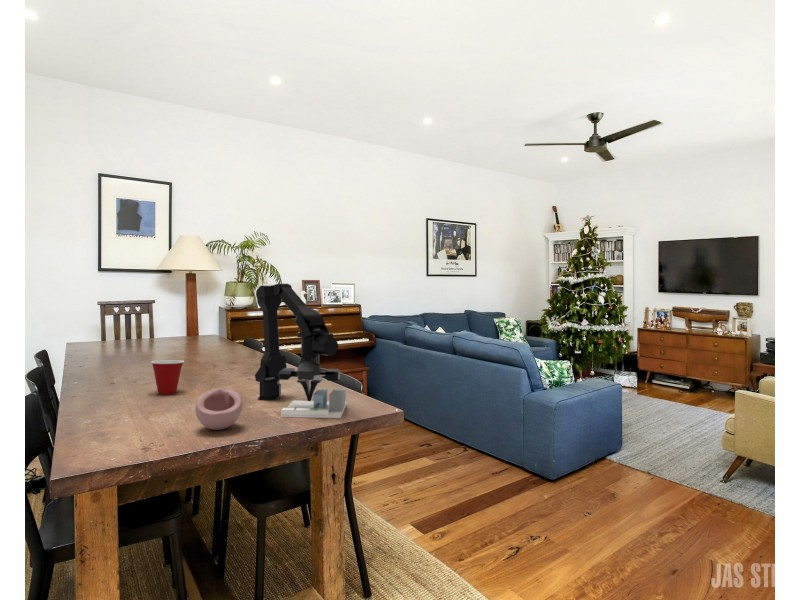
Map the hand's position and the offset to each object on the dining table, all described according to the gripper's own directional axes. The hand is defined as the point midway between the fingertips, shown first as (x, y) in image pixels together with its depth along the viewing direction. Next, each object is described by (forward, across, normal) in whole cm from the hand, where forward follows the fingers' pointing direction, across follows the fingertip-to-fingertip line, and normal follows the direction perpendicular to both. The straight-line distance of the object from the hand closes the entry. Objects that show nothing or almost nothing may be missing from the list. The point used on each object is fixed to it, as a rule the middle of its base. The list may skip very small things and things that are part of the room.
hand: (309, 401), depth 145 cm
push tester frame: (+3, +2, 0) cm, 4 cm away
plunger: (+2, +4, -2) cm, 4 cm away
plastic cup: (+3, -55, +19) cm, 58 cm away
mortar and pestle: (+3, -21, -20) cm, 29 cm away
